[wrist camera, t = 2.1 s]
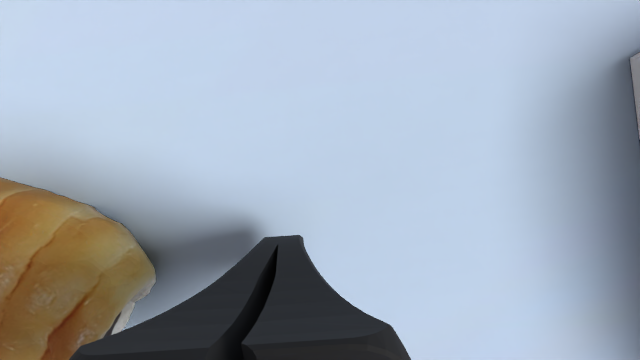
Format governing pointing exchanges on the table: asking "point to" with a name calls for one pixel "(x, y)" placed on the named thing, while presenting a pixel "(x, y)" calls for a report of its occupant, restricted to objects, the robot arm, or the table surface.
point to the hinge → (636, 84)
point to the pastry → (63, 274)
